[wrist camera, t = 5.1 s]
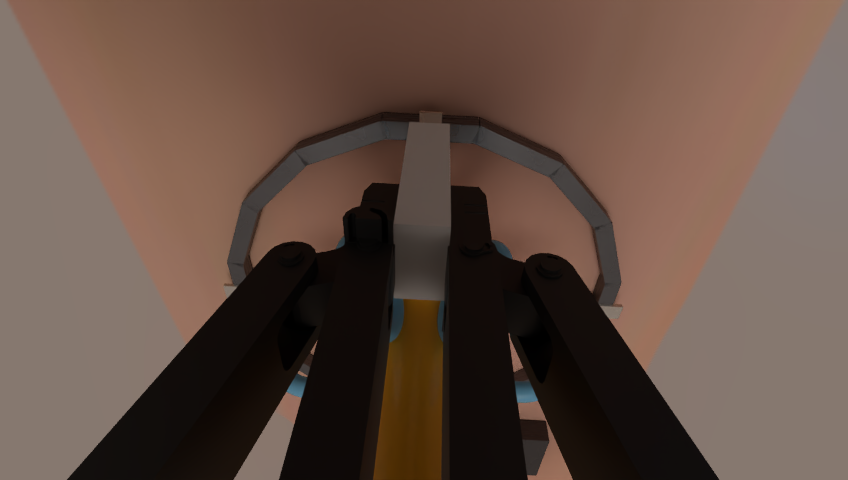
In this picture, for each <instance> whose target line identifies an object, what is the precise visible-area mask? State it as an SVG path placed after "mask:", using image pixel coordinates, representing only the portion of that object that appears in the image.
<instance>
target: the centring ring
mask: <svg viewBox="0 0 848 480" xmlns="http://www.w3.org/2000/svg"><path fill="white" fill-rule="evenodd" d="M409 122H420V123H441V124H450V142H453V143H473V144H476V145H478V146H481V147H483V148H485V149H487V150H490V151H492V152H494V153H496V154H499V155H501V156H503V157H505V158H507V159H510V160H512V161H514V162H516V163H519V164H521V165H523V166H525V167H528V168H530V169H532V170H534V171H536V172H539V173H541V174H543V175H545V176H548V177H550V178H551V179H552V180H553V182H554V183H555V184H556V185H557V186H558V187H559V189H560V190H561V191H562V192H563V193H564V194H565V195H566V197H567V198H568V199H569V200H570V201H571V202H572V204H573V205H574V206H575V207H576V208H577V209H578V210H579V212H580V213H581V214H582V215H583V216H584V217H585V219H586V220H587V221H588V222H589V223H590V224H591V225H592V231H593V236H594V241H595V246H596V252H597V257H598V262H599V267H600V276H599V279H598V281H597V284H596V287H595V290H594V292H593V296H594V298H595V299H596V301H597V302H598V304H599V305H600V307H601V308H602V309H603V311H604V312H605V314H606V315H607V317H608V318H613V319H618V318H619V315H620V313H621V311H622V308H623V306H622V304H613V303H614V301H615V298H616V296H617V293H618V291H619V288H620V286H621V276H620V270H619V264H618V257H617V251H616V245H615V238H614V232H613V226H612V222H611V219H610V217H609V215H608V213H607V211H606V210H605V209H604V207H603V206H602V205H601V204H600V203H599V201H598V200H597V199H596V198H595V197H594V195H593V194H592V193H591V192H590V191H589V189H588V188H587V187H586V186H585V184H584V183H583V182H582V181H581V180H580V178H579V177H578V176H577V175H576V174H575V172H574V171H573V170H572V169H571V168H570V166H569V165H568V164H567V163H566V161H565V160H564V159H563V158H562V157H561V155H559V154H558V153H555V152H553V151H551V150H549V149H547V148H545V147H543V146H540V145H538V144H536V143H534V142H532V141H530V140H527V139H525V138H523V137H521V136H519V135H517V134H515V133H512V132H510V131H508V130H506V129H504V128H502V127H500V126H497V125H495V124H493V123H491V122H489V121H487V120H484V119H482V118H480V117H479V119H478V117H470V116H450V115H442V112H439V111H420V114H410V113H389V112H384V114H383V112H382V113H380V114H377V115H374V116H371V117H368V118H365V119H362V120H360V121H357V122H354V123H351V124H348V125H345V126H343V127H340V128H337V129H334V130H331V131H328V132H325V133H323V134H320V135H317V136H314V137H311V138H308V139H306V140H303V141H300V142H299V143H298V144H297V145H296V146H295V147H294V148H293V149H292V150H291V151H290V152H289V153H288V154H287V155H286V156H285V157H284V158H283V159H282V160H281V161H280V162H279V163H278V164H277V165H276V166H275V167H274V168H273V169H272V170H271V171H270V172H269V173H268V174H267V175H266V176H265V177H264V178H263V179H262V180H261V181H260V182H259V183H258V184H257V185H256V186H255V187H254V188H253V189H252V190H251V191H250V192H249V193H248V195H247V196H246V198H245V199H244V201H243V203H242V205H241V209H240V213H239V217H238V221H237V225H236V229H235V233H234V237H233V241H232V245H231V249H230V253H229V257H228V260H227V264H228V267H229V271H230V274H231V277H232V281H233V284H226V283H225V284H224V286H223V287H224V290H225V293H226V296H227V298H228V297H229V296H230V295H231V293H232V292H233V291H234V290H235V289H236V288H237V287H238V285H239V284H240V283H241V282H242V281H243V280H244V279H245V278H246V276H247V275H248V274H249V273H250V272H251V271H252V270H253V269H252V265H251V261H250V257H249V252H250V249H251V245H252V242H253V238H254V235H255V231H256V228H257V224H258V221H259V218H260V214H261V211H262V208H263V207H264V206H265V205H266V204H267V203H268V202H269V201H270V200H271V199H272V198H273V197H274V196H275V195H276V194H277V193H279V192H280V191H281V190H282V189H283V188H284V187H285V186H286V185H287V184H288V183H289V182H290V181H291V180H292V179H293V178H294V177H295V176H296V175H297V174H298V173H299V172H301V171H302V170H303V169H304V168H305V167H306V166H307V165H309V164H312V163H315V162H318V161H321V160H324V159H327V158H330V157H333V156H336V155H339V154H342V153H345V152H348V151H351V150H354V149H357V148H360V147H363V146H366V145H369V144H372V143H375V142H378V141H381V140H384V139H393V140H407V134H408V127H409ZM312 359H313V355H311V354H310V353H309V355H308V356H307V358H306V360H305V361H304V363H303V365H302V366H301V368H300V370H299V371H301V372H303V373H304V374H306V375H308V373H309V370H310V366H311V363H312ZM514 380H515V381H529V379H528V377H527V375H526V372H525V370H524V369H522V370H520V371H517V372H515V373H514Z"/></svg>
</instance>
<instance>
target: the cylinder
mask: <svg viewBox="0 0 848 480" xmlns="http://www.w3.org/2000/svg"><path fill="white" fill-rule="evenodd" d="M492 242H493V243H494V244H495V246H496V248H497V251H498V252H499V253H501V254H502V255H504V256H506V257H508V258H511V259H513V258H512V255H511V253H510V251H509V249H508V248H507V247H506V246H505V245H504V244H503V243H501V242H499V241H495V240H492ZM344 244H345V238H344V236H343V237H342V238H341V240H340V241H339V243H338V245H337V247H336V249H337V248H340V247H342V246H343V245H344ZM443 312H444V301H437V300H418V299H400V298H394V296H393V317H392V326H391V334H390V343H389V351H388V359H387V368H386V376H385V384H384V393H383V401H382V409H381V418H380V426H379V435H378V443H377V451H376V460H375V468H374V476H373V480H441V460H442V379H443V332H442V323H443ZM306 381H307V377H304V376H301V375H299V374H297V375H296V376H295V378H294V380H293V381H292V383H291V385H290V386H289V388H288V390H287V391H286V392H288V393H290V394H292V395H294V396H298V397H302V395H303V391H304V388H305V384H306ZM515 387H516V395H517V402H519V403H527V402H534V401H538V399H537V397H536V395H535V393H534V390H533V388H532V386H531V384H530V381H515Z"/></svg>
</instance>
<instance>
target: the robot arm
mask: <svg viewBox="0 0 848 480" xmlns="http://www.w3.org/2000/svg"><path fill="white" fill-rule="evenodd" d="M343 226H344V238H345V244H344V245H343V246H342V247H340V248H337V249H335V250H331V251H326V252H320V253H316V252H315V249H314V248H313V247H312V246H311V245H309V244H306V243H304V242H295V241H293V242H286V243H282V244H280V245H277V246H275V247H274V248H272V249H271V250H270V251H269V252H268V253H267V254H266V255H265V256H264V257H263V258H262V259H261V261H260V262H259V263H258V264H257V265H256V266H255V267H254V269H253V270H252V271H251V272H250V273H249V274H248V275H247V276H246V278H245V279H244V280H243V281H242V282H241V283H240V284H239V285H238V287H237V288H236V289H235V290H234V291H233V292H232V293H231V295H230V296H229V297H228V298H227V299H226V300H225V301H224V302H223V304H222V305H221V306H220V307H219V308H218V309H217V310H216V312H215V313H214V314H213V315H212V316H211V317H210V318H209V319H208V321H207V322H206V323H205V324H204V325H203V326H202V327H201V329H200V330H199V331H198V332H197V333H196V334H195V335H194V336H193V338H192V339H191V340H190V341H189V342H188V343H187V344H186V345H185V347H184V348H183V349H182V350H181V351H180V352H179V353H178V355H177V356H176V357H175V358H174V359H173V360H172V361H171V363H170V364H169V365H168V366H167V367H166V368H165V369H164V370H163V372H162V373H161V374H160V375H159V376H158V377H157V378H156V379H155V381H154V382H153V383H152V384H151V385H150V386H149V387H148V389H147V390H146V391H145V392H144V393H143V394H142V395H141V396H140V398H139V399H138V400H137V401H136V402H135V403H134V405H133V406H132V407H131V408H130V409H129V410H128V411H127V412H126V413H125V415H124V416H123V417H122V418H121V419H120V420H119V421H118V422H117V424H116V425H115V426H114V427H113V428H112V429H111V431H110V432H109V433H108V434H107V435H106V436H105V437H104V438H103V440H102V441H101V442H100V443H99V444H98V445H97V446H96V447H95V449H94V450H93V451H92V452H91V453H90V454H89V455H88V456H87V458H86V459H85V460H84V461H83V462H82V464H80V466H79V467H78V468H77V469H76V470H75V471H74V472H73V473H72V475H71V476H70V477H69V478H68V479H67V480H233V479H234V478H235V476H236V474H237V473H238V471H239V470H240V468H241V466H242V465H243V463H244V461H245V459H246V458H247V456H248V454H249V453H250V451H251V450H252V448H253V446H254V444H255V443H256V441H257V439H258V438H259V436H260V435H261V433H262V431H263V430H264V428H265V426H266V425H267V423H268V421H269V420H270V418H271V416H272V414H273V413H274V411H275V410H276V408H277V406H278V405H279V403H280V401H281V400H282V398H283V396H284V395H285V393H286V391H287V390H288V388H289V386H290V385H291V383H292V381H293V380H294V378H295V376H296V375H297V373H298V371H299V370H300V368H301V366H302V365H303V363H304V361H305V360H306V358H307V356H308V355H309V353H310V351H311V350H312V348H313V346H314V345H315V343H316V341H317V340H318V341H317V345H316V348H315V352H314V355H313V359H312V363H311V366H310V370H309V373H308V377H307V381H306V384H305V388H304V391H303V395H302V399H301V402H300V406H299V409H298V413H297V417H296V420H295V424H294V427H293V431H292V435H291V438H290V442H289V445H288V449H287V453H286V456H285V460H284V464H283V467H282V471H281V474H280V478H279V480H373V476H374V468H375V460H376V451H377V443H378V435H379V426H380V418H381V409H382V401H383V393H384V384H385V376H386V368H387V359H388V351H389V343H390V334H391V326H392V317H393V296H394V298H400V299H418V300H437V301H444V312H443V323H442V332H443V379H442V460H441V480H528V478H527V470H526V463H525V455H524V448H523V440H522V433H521V425H520V418H519V410H518V403H517V395H516V387H515V380H514V372H513V365H512V357H511V350H510V342H509V335H508V333H510V338H511V341H512V343H513V345H514V348H515V350H516V352H517V354H518V357H519V359H520V361H521V363H522V366H523V368H524V370H525V372H526V375H527V377H528V379H529V381H530V384H531V386H532V388H533V390H534V393H535V395H536V397H537V399H538V402H539V404H540V406H541V408H542V411H543V413H544V415H545V417H546V420H547V422H548V424H549V426H550V429H551V431H552V433H553V435H554V438H555V440H556V442H557V444H558V447H559V449H560V451H561V454H562V456H563V458H564V460H565V463H566V465H567V467H568V469H569V472H570V474H571V476H572V478H573V480H719V479H718V477H717V476H716V474H715V473H714V471H713V470H712V468H711V467H710V466H709V464H708V463H707V461H706V460H705V458H704V457H703V455H702V454H701V453H700V451H699V449H698V448H697V447H696V445H695V444H694V442H693V441H692V439H691V438H690V437H689V435H688V434H687V432H686V430H685V429H684V428H683V426H682V425H681V423H680V422H679V420H678V419H677V417H676V416H675V415H674V413H673V411H672V410H671V409H670V407H669V406H668V404H667V403H666V401H665V400H664V398H663V397H662V395H661V394H660V393H659V391H658V390H657V388H656V387H655V385H654V384H653V382H652V381H651V379H650V378H649V377H648V375H647V374H646V372H645V371H644V369H643V368H642V366H641V365H640V363H639V362H638V360H637V359H636V358H635V356H634V355H633V353H632V352H631V350H630V349H629V347H628V346H627V344H626V343H625V342H624V340H623V339H622V337H621V336H620V334H619V333H618V331H617V330H616V328H615V327H614V325H613V324H612V323H611V321H610V320H609V318H608V317H607V315H606V314H605V312H604V311H603V309H602V308H601V307H600V305H599V304H598V302H597V301H596V299H595V298H594V296H593V295H592V293H591V292H590V291H589V289H588V288H587V286H586V285H585V283H584V282H583V280H582V279H581V277H580V276H579V274H578V273H577V272H576V270H575V269H574V267H573V266H572V265H571V264H570V263H569V262H568V261H567V260H565V259H563V258H562V257H560V256H557V255H553V254H550V253H539V254H535V255H532V256H530V257H529V258H528V259H526V262H525V263H524V262H520V261H517V260H513V259H511V258H508V257H506V256H504V255H502V254H501V253H499V252H498V251H497V248H496V246H495V244H494V243H493V242H492V239H491V231H490V223H489V215H488V208H487V200H486V195H485V194H484V193H483V192H482V190H481V189H480V188H479V187H467V186H451V183H450V124H441V123H420V122H409V127H408V134H407V140H406V147H405V153H404V159H403V166H402V172H401V179H400V184H386V183H372V184H371V185H370V186H369V187H368V188H367V189H366V190H364V194H363V197H362V202H361V205H360V206H359V207H355V208H352V209H351V210H349V211H348V212H346V213H345V215H344V216H343Z"/></svg>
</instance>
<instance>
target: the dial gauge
mask: <svg viewBox="0 0 848 480" xmlns="http://www.w3.org/2000/svg"><path fill="white" fill-rule="evenodd" d="M520 425H521V433H522V440H523V448H524V455H525V463H526V470H527V475H537V472H538V469H539V467H540V464H541V462H542V459H543V456H544V454H545V451H546V449H547V446H548V443H549V437H548V431H547V426H546V421H531V420H520Z"/></svg>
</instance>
